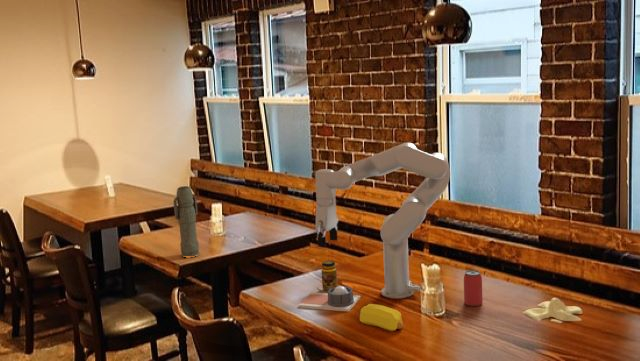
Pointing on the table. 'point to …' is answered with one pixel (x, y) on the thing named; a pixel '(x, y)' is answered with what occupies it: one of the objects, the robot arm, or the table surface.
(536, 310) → the cloth
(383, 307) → the faceted yellow knobbed lump
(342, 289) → the dome
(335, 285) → the condiment
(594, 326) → the table surface
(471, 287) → the beer can
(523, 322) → the table surface
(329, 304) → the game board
